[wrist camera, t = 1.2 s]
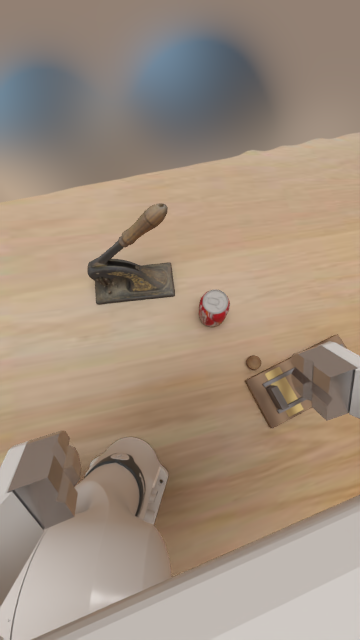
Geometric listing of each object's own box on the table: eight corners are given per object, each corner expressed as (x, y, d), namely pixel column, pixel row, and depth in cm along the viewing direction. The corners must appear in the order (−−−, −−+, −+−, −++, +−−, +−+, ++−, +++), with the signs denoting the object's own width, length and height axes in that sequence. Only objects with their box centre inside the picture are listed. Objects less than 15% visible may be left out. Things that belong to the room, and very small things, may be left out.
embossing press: (96, 269, 71) (30, 193, 42) (176, 263, 71) (165, 181, 42) (95, 305, 69) (24, 250, 40) (179, 299, 68) (168, 238, 39)
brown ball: (258, 370, 62) (262, 369, 59) (245, 368, 62) (248, 368, 59) (259, 357, 63) (263, 355, 60) (246, 355, 63) (248, 354, 60)
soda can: (221, 331, 65) (227, 320, 53) (195, 324, 66) (196, 312, 54) (227, 306, 67) (234, 291, 55) (202, 300, 67) (204, 283, 56)
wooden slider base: (269, 426, 59) (278, 432, 52) (244, 380, 62) (250, 380, 55) (361, 378, 60) (381, 378, 54) (333, 335, 63) (348, 330, 57)
